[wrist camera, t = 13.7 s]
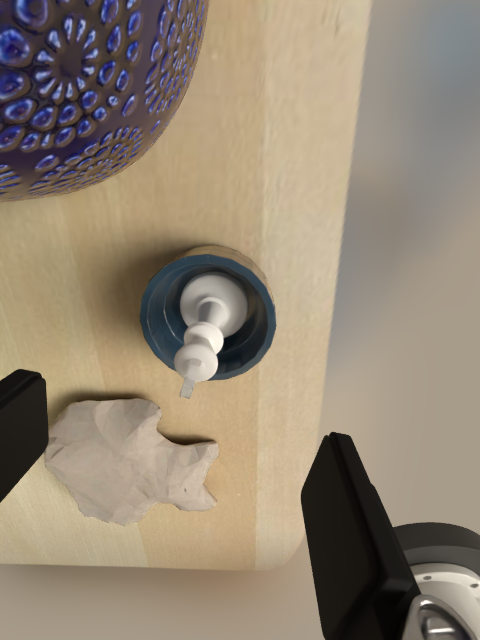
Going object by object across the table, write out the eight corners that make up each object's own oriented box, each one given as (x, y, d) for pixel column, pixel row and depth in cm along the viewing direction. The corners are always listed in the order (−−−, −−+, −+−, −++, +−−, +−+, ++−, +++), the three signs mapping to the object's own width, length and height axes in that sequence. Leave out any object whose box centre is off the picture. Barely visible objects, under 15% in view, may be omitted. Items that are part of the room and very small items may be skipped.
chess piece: (259, 284, 20) (267, 357, 10) (236, 344, 21) (227, 451, 12) (190, 261, 19) (136, 316, 10) (173, 324, 21) (114, 420, 12)
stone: (212, 554, 26) (40, 546, 25) (214, 517, 30) (63, 508, 28) (230, 416, 22) (31, 399, 21) (230, 393, 26) (59, 377, 25)
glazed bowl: (284, 258, 19) (292, 272, 16) (256, 360, 23) (258, 390, 19) (165, 232, 19) (145, 240, 15) (154, 339, 22) (135, 367, 18)
